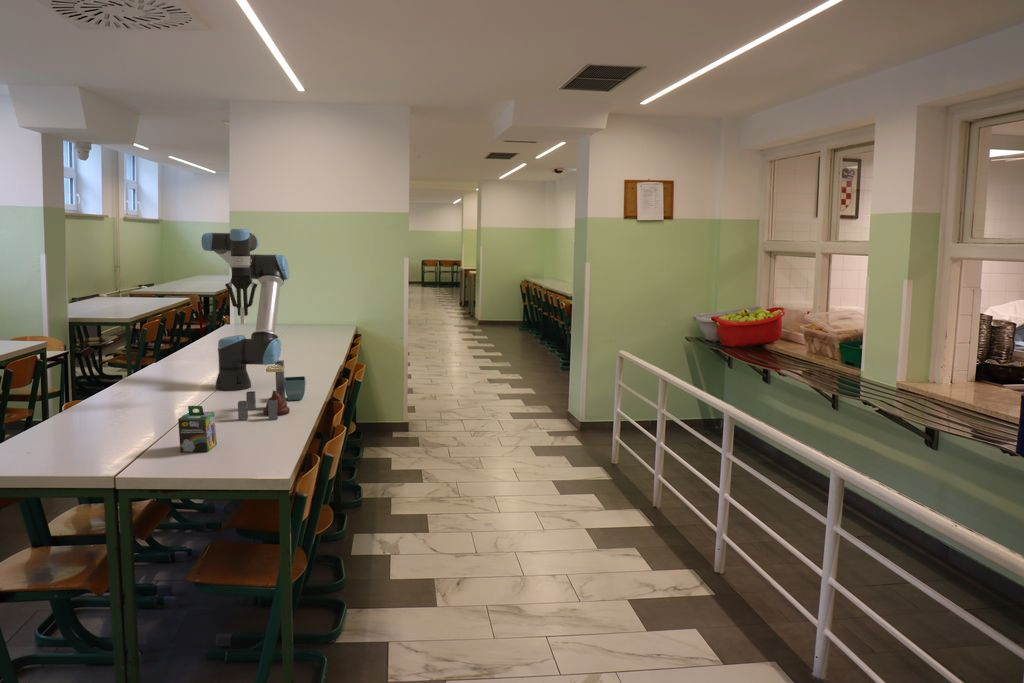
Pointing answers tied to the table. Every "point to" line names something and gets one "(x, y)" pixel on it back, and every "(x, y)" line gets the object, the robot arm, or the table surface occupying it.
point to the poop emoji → (282, 405)
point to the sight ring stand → (278, 375)
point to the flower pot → (295, 387)
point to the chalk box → (197, 430)
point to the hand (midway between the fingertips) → (243, 323)
